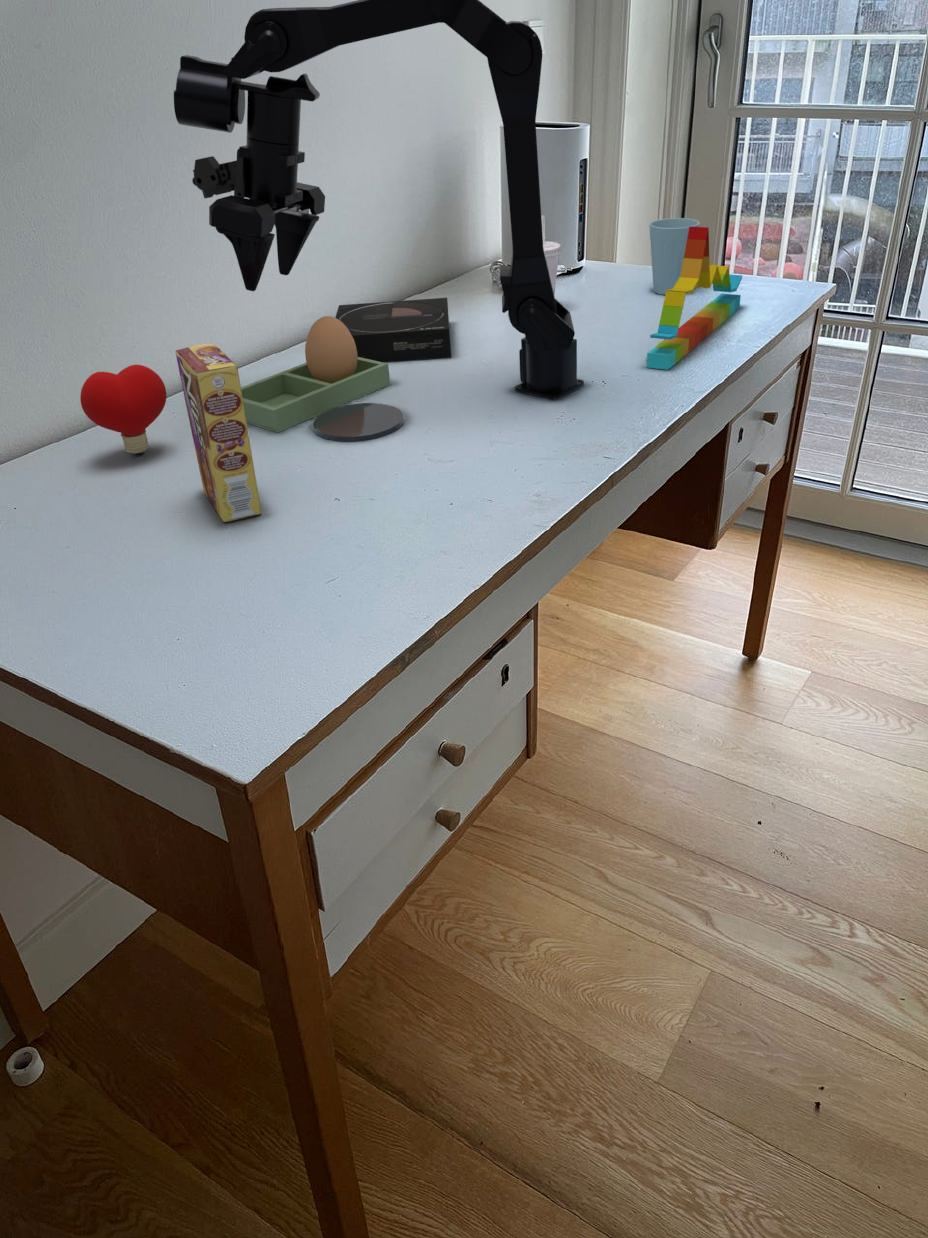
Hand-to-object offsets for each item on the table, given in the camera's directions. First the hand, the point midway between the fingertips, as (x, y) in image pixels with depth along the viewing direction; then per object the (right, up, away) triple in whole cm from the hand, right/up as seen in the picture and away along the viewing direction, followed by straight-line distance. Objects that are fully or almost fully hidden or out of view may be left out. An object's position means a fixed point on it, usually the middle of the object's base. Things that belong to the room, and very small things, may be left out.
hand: (267, 282), depth 117 cm
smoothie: (+36, +8, +36) cm, 51 cm away
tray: (+4, -12, +8) cm, 15 cm away
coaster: (+11, -17, 0) cm, 20 cm away
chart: (+56, -1, +21) cm, 60 cm away
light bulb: (-14, -21, -4) cm, 26 cm away
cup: (+57, +13, +41) cm, 71 cm away
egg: (+7, -10, +11) cm, 16 cm away
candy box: (0, -29, -17) cm, 33 cm away
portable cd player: (+13, 0, +26) cm, 30 cm away
